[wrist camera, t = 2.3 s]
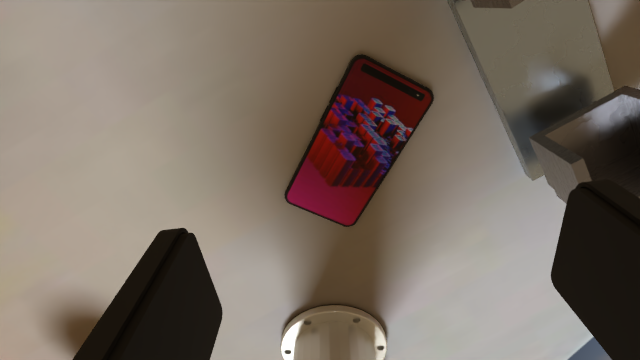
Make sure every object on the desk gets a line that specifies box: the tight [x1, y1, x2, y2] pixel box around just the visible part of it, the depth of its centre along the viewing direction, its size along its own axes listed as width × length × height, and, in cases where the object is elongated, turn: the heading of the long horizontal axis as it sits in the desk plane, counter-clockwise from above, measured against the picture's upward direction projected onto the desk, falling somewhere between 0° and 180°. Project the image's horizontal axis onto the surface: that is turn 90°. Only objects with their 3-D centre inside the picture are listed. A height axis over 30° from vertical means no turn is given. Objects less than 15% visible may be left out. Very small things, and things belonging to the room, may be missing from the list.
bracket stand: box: [448, 0, 640, 204], centre depth 24 cm, size 23×8×8 cm, turn 34°
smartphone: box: [285, 55, 434, 227], centre depth 31 cm, size 8×1×15 cm
